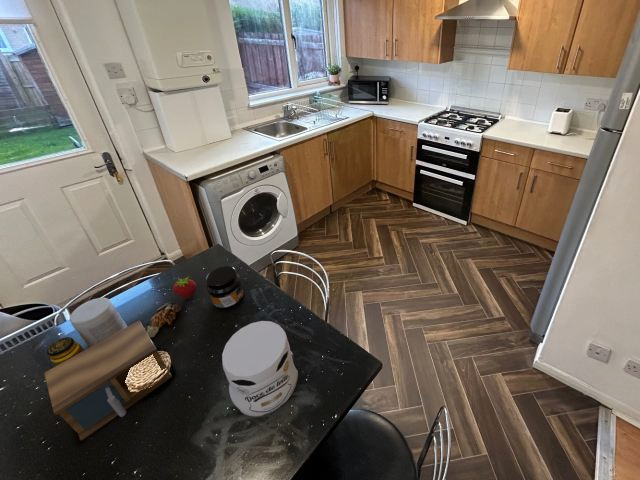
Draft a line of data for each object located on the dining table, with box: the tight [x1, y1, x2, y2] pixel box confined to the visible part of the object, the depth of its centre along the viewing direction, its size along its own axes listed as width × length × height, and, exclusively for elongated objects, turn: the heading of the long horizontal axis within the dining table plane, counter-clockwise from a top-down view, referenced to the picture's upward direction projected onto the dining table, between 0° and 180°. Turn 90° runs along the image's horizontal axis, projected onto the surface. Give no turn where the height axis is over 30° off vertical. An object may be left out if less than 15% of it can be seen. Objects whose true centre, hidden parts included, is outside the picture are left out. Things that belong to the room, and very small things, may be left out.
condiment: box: [46, 336, 86, 367], centre depth 87 cm, size 7×8×12 cm
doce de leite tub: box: [221, 320, 299, 417], centre depth 82 cm, size 17×17×18 cm
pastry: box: [144, 302, 181, 338], centre depth 103 cm, size 7×12×4 cm, turn 174°
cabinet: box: [43, 320, 173, 441], centre depth 82 cm, size 14×20×13 cm
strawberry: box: [172, 275, 197, 300], centre depth 111 cm, size 6×8×10 cm
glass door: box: [66, 378, 130, 430], centre depth 75 cm, size 6×9×10 cm, turn 140°
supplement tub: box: [69, 297, 128, 348], centre depth 94 cm, size 10×10×15 cm
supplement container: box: [205, 265, 245, 311], centre depth 110 cm, size 10×10×12 cm
